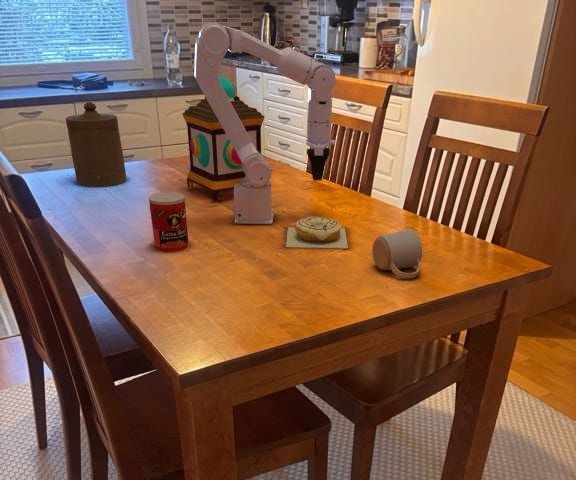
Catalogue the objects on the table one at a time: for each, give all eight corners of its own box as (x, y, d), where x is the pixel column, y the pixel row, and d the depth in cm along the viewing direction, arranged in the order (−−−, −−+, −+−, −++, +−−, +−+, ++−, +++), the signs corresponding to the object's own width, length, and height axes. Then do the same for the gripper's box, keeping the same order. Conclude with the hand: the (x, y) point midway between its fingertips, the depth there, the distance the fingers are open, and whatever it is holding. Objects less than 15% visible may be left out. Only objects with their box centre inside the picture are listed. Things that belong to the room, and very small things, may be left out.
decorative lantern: (273, 194, 168) (272, 77, 152) (213, 205, 159) (205, 82, 142) (238, 179, 182) (234, 71, 166) (181, 188, 173) (170, 75, 156)
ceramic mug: (368, 264, 123) (371, 228, 119) (401, 258, 126) (405, 223, 122) (394, 283, 115) (399, 246, 111) (429, 277, 118) (435, 240, 114)
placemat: (286, 247, 132) (286, 246, 131) (288, 227, 143) (288, 227, 143) (347, 248, 131) (347, 247, 131) (344, 228, 143) (344, 228, 143)
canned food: (160, 254, 128) (154, 203, 122) (150, 242, 134) (144, 194, 128) (193, 248, 131) (189, 199, 125) (182, 237, 137) (177, 190, 131)
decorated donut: (327, 247, 131) (327, 231, 129) (286, 239, 136) (286, 223, 134) (347, 234, 139) (348, 218, 137) (308, 226, 143) (309, 211, 141)
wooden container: (105, 172, 188) (93, 97, 176) (136, 179, 181) (126, 101, 169) (66, 182, 178) (51, 103, 166) (98, 189, 171) (84, 108, 159)
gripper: (337, 126, 132) (334, 187, 139) (335, 116, 144) (332, 173, 151) (306, 126, 132) (304, 187, 139) (306, 115, 144) (305, 172, 152)
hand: (317, 179), depth 145 cm, fingers closed
